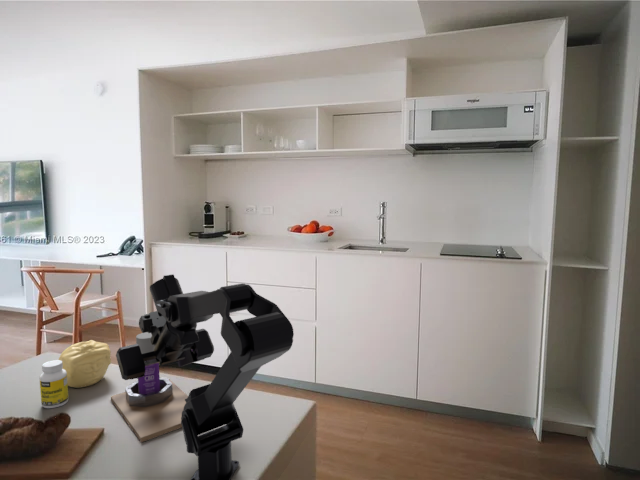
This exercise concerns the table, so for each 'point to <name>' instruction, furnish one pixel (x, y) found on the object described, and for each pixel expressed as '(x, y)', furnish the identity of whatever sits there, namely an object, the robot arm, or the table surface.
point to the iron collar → (151, 398)
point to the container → (148, 367)
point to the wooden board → (153, 414)
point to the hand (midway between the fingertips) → (158, 370)
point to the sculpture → (85, 362)
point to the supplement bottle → (53, 384)
